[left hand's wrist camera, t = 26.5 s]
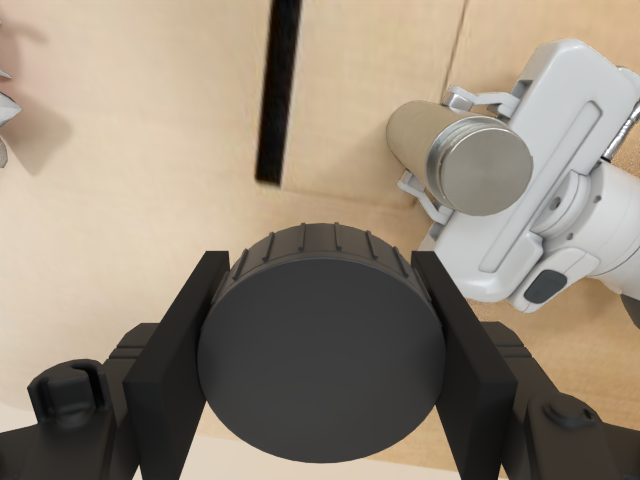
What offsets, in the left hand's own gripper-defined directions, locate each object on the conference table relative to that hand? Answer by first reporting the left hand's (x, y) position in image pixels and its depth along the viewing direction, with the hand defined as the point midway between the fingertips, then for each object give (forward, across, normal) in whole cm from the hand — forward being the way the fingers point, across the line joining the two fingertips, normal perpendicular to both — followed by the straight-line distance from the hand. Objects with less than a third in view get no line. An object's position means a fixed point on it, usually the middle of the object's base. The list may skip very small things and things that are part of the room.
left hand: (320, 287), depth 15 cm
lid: (-4, 0, 0) cm, 4 cm away
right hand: (+20, +8, +2) cm, 21 cm away
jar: (+26, +9, +2) cm, 27 cm away
